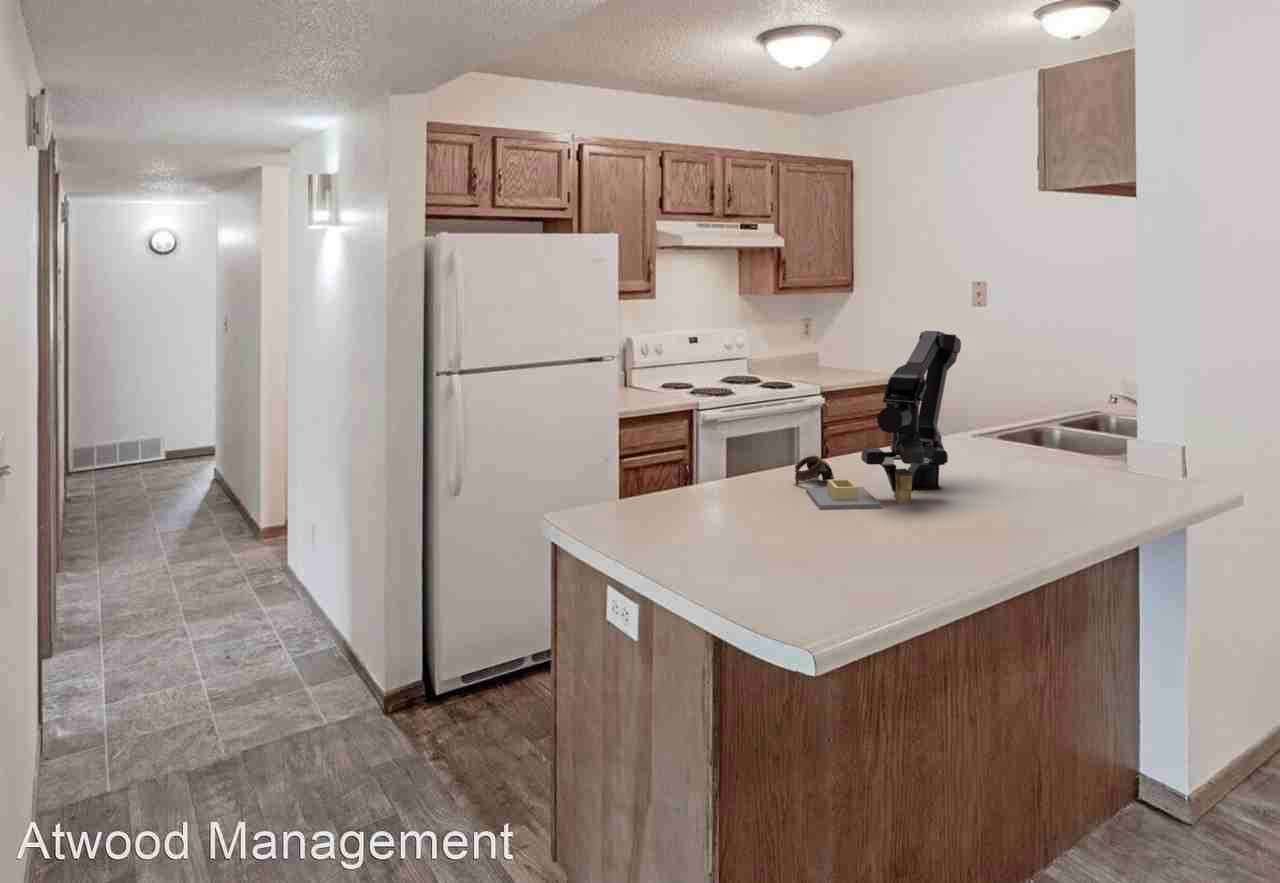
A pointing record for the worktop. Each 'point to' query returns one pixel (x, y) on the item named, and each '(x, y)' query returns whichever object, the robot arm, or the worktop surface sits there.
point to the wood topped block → (903, 485)
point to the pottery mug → (813, 469)
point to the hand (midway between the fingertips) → (902, 491)
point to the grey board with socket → (842, 496)
